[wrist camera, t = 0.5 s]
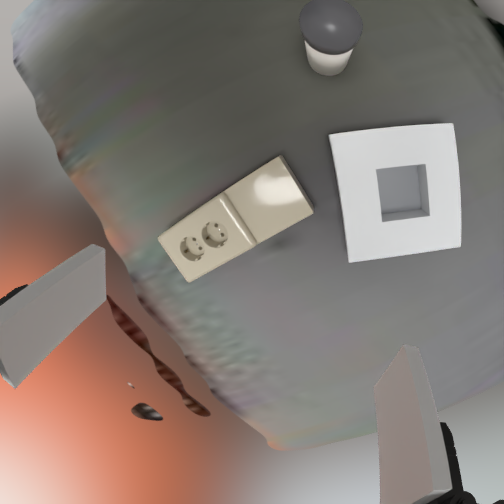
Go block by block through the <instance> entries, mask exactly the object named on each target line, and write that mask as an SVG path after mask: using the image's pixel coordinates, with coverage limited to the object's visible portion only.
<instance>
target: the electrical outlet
mask: <svg viewBox="0 0 504 504" xmlns="http://www.w3.org/2000/svg"><path fill="white" fill-rule="evenodd" d="M313 213H314V206H313V205H312V203H311V201H310V200H309V198H308V196H307V195H306V193H305V191H304V190H303V188H302V187H301V185H300V183H299V182H298V180H297V178H296V177H295V175H294V174H293V172H292V170H291V169H290V167H289V166H288V164H287V163H286V161H285V159H284V158H283V156H282V155H280V156H278V157H277V158H275V159H273V160H272V161H270V162H269V163H267V164H265V165H264V166H262V167H261V168H259V169H257V170H256V171H254V172H253V173H251V174H249V175H248V176H246V177H245V178H243V179H242V180H240V181H239V182H237V183H235V184H234V185H232V186H231V187H229V188H228V189H226V190H225V191H223V192H222V193H220V194H219V195H217V196H216V197H214V198H213V199H211V200H210V201H208V202H207V203H205V204H204V205H202V206H201V207H199V208H198V209H196V210H195V211H194V212H192V213H191V214H189V215H188V216H186V217H185V218H184V219H182V220H181V221H179V222H178V223H176V224H175V225H174V226H172V227H171V228H169V229H168V230H167V231H165V232H164V233H162V234H161V235H160V236H158V241H159V242H160V244H161V245H162V247H163V248H164V250H165V251H166V252H167V254H168V255H169V257H170V258H171V260H172V261H173V262H174V264H175V265H176V267H177V268H178V269H179V271H180V272H181V274H182V275H183V276H184V278H185V279H186V281H187V282H192V281H194V280H196V279H197V278H199V277H201V276H203V275H205V274H206V273H208V272H210V271H212V270H214V269H215V268H217V267H219V266H221V265H223V264H224V263H226V262H228V261H230V260H232V259H233V258H235V257H237V256H239V255H241V254H242V253H244V252H246V251H248V250H250V249H251V248H253V247H255V246H256V245H257V244H259V243H260V242H262V241H264V240H266V239H268V238H269V237H271V236H273V235H275V234H277V233H279V232H280V231H282V230H284V229H286V228H288V227H289V226H291V225H293V224H295V223H297V222H298V221H300V220H302V219H304V218H306V217H308V216H309V215H311V214H313Z"/></svg>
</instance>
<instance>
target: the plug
mask: <svg viewBox="0 0 504 504" xmlns="http://www.w3.org/2000/svg"><path fill="white" fill-rule="evenodd" d="M299 22H300V28H301V32H302V36H303V38H304V40H305V46H306V52H307V58H308V62H309V65H310V66H311V68H312V69H313V70H314V71H315V72H317V73H319V74H321V75H324V76H334V75H337V74H339V73H341V72H342V71H343V70H344V69H345V67H346V65H347V63H348V60H349V58H350V55H351V53H352V50H353V48H354V47H355V46H356V44H357V43H358V40H359V38H360V36H361V33H362V30H363V23H362V19H361V17H360V15H359V13H358V12H357V10H356V9H355V8H354V7H353V6H351V5H350V4H349V3H347V2H345V1H343V0H312V1H310V2H309V3H308V4H306V5H305V6H304V8H303V9H302V11H301V13H300V18H299Z"/></svg>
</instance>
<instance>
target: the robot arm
mask: <svg viewBox="0 0 504 504" xmlns="http://www.w3.org/2000/svg"><path fill="white" fill-rule="evenodd" d="M105 300H106V281H105V249H104V248H102V247H99V246H97V245H94V244H91V245H90V246H88V247H86V248H85V249H83V250H81V251H80V252H78V253H77V254H75V255H74V256H72V257H70V258H69V259H67V260H66V261H64V262H63V263H61V264H60V265H58V266H57V267H55V268H54V269H52V270H51V271H49V272H47V273H46V274H45V275H43V276H42V277H40V278H39V279H37V280H36V281H34V282H33V283H31V284H30V285H27V284H26V285H23V286H21V287H18V288H15V289H14V290H12V291H11V292H10V293H8V294H7V295H6V297H5V296H4V297H3V298H1V299H0V373H1V375H2V377H3V379H4V380H5V381H7V382H8V383H9V384H10V385H11V386H12V387H13V388H17V386H18V385H19V384H20V383H21V382H22V381H23V380H24V379H25V378H26V377H27V376H28V375H29V374H30V373H31V372H32V371H33V370H34V368H36V367H37V366H38V365H39V364H40V363H41V361H43V360H44V359H45V358H46V356H48V355H49V353H51V352H52V351H53V350H54V349H55V348H56V347H57V346H58V345H59V344H60V343H61V342H62V341H63V340H64V339H65V338H66V337H67V336H68V335H69V334H70V333H71V332H72V331H73V330H74V329H75V328H76V327H77V326H78V325H79V324H81V323H82V322H83V321H84V320H85V319H86V318H87V317H88V316H89V315H90V314H91V313H92V312H93V311H94V310H95V309H96V308H98V307H99V306H100V305H101V304H102V303H103V302H104V301H105ZM373 388H374V397H375V407H376V417H377V430H378V445H379V463H380V464H379V465H380V504H477V503H476V500H475V498H474V497H473V495H472V494H471V493H469V492H466V491H463V486H462V480H461V475H460V469H459V464H458V459H457V456H456V449H455V447H454V441H453V436H452V433H451V431H450V429H449V428H448V426H447V425H446V423H443V422H439V418H438V413H437V409H436V406H435V402H434V398H433V395H432V391H431V387H430V384H429V381H428V377H427V374H426V371H425V367H424V364H423V361H422V358H421V355H420V352H419V349H418V347H414V346H410V345H406V344H403V346H402V347H401V349H400V350H399V352H398V353H397V355H396V356H395V358H394V359H393V361H392V362H391V364H390V365H389V366H388V368H387V369H386V371H385V372H384V374H383V375H382V376H381V378H380V379H379V380H378V382H377V383H376V384H375V386H374V387H373ZM493 504H504V500H499V501H497V502H495V503H493Z"/></svg>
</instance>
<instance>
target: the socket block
mask: <svg viewBox="0 0 504 504" xmlns="http://www.w3.org/2000/svg"><path fill="white" fill-rule="evenodd" d="M328 137H329V142H330V147H331V152H332V157H333V162H334V168H335V174H336V179H337V185H338V191H339V198H340V204H341V211H342V218H343V225H344V233H345V241H346V249H347V255H348V260H349V263H351V262H358V261H365V260H373V259H380V258H387V257H394V256H401V255H408V254H415V253H422V252H429V251H436V250H442V249H449V248H455V247H461V196H460V179H459V167H458V157H457V148H456V141H455V134H454V127H453V123H444V124H424V125H410V126H397V127H387V128H377V129H368V130H359V131H352V132H344V133H337V134H330V135H328Z"/></svg>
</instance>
